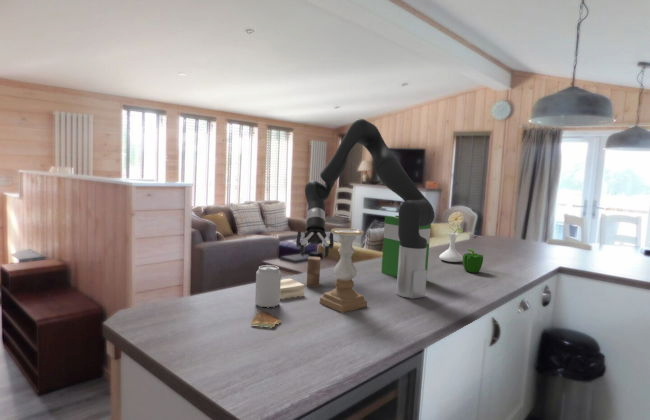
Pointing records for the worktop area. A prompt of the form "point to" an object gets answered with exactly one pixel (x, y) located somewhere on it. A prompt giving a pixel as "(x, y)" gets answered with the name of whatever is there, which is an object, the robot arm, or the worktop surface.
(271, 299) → the can
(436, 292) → the worktop surface
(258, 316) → the sandwich
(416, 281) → the robot arm
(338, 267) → the candle holder
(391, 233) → the green and white box
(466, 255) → the bell pepper
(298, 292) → the birch block
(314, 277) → the walnut pillar
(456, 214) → the flower in vase
